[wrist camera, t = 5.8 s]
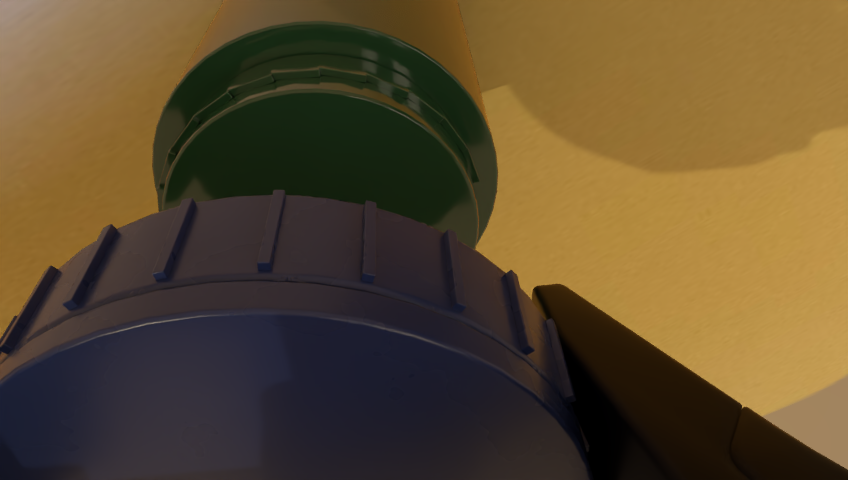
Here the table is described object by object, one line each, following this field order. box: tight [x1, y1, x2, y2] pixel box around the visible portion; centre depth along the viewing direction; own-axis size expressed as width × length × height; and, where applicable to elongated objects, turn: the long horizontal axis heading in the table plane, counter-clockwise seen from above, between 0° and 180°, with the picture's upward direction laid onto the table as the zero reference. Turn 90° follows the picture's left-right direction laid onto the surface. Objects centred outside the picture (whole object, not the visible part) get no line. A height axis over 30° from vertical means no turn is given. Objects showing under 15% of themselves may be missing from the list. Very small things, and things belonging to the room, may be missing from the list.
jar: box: [152, 0, 498, 250], centre depth 15 cm, size 6×6×9 cm
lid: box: [0, 190, 594, 480], centre depth 8 cm, size 7×7×2 cm
